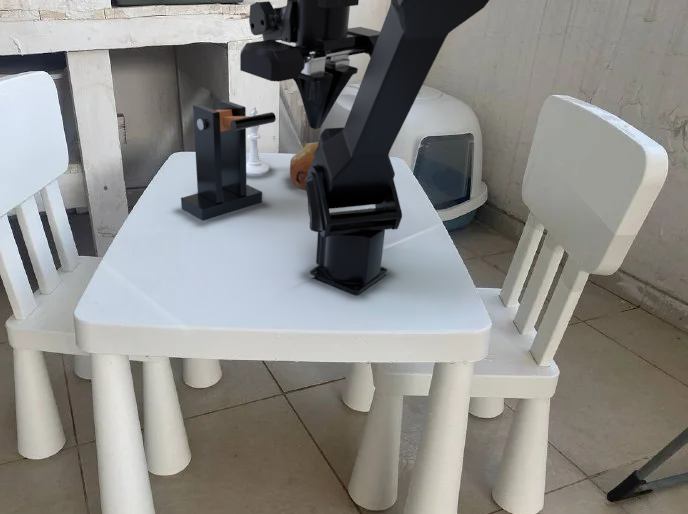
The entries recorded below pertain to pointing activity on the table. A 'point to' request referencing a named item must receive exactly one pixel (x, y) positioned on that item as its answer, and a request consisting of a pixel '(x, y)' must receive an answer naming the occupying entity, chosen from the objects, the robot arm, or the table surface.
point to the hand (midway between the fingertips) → (315, 127)
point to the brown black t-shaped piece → (243, 120)
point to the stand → (219, 166)
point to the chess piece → (255, 151)
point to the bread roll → (302, 164)
